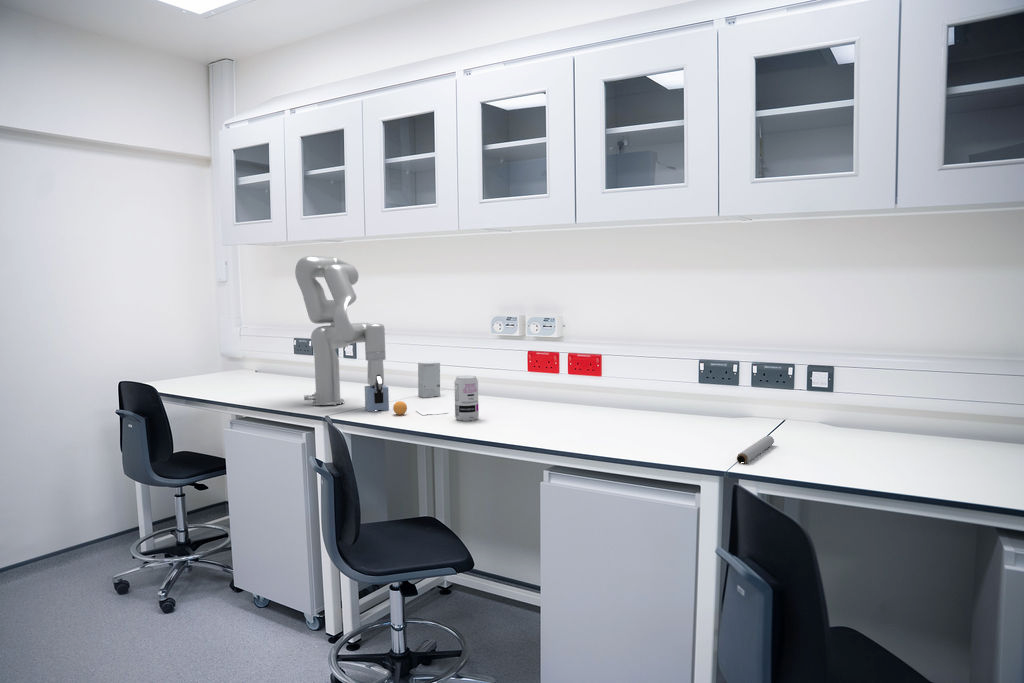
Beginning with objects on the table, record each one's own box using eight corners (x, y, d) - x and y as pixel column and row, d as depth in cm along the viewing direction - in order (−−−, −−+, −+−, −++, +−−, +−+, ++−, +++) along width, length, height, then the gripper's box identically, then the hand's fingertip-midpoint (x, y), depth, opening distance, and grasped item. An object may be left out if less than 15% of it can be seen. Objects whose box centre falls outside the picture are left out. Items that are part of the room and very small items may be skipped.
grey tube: (747, 466, 169) (774, 446, 189) (747, 454, 169) (774, 436, 189) (735, 464, 171) (763, 445, 191) (735, 452, 171) (763, 434, 191)
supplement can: (465, 416, 239) (464, 374, 238) (483, 418, 234) (482, 376, 233) (450, 419, 232) (449, 377, 231) (468, 422, 227) (468, 379, 226)
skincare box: (422, 398, 279) (421, 363, 278) (417, 396, 284) (416, 362, 283) (441, 396, 283) (440, 362, 281) (436, 394, 288) (435, 360, 287)
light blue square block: (368, 411, 249) (367, 388, 249) (365, 408, 256) (364, 386, 256) (388, 410, 252) (388, 387, 251) (385, 407, 259) (384, 384, 259)
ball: (394, 416, 239) (394, 402, 239) (392, 414, 244) (391, 400, 244) (408, 415, 241) (408, 401, 241) (405, 413, 246) (405, 399, 245)
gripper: (362, 354, 259) (363, 399, 261) (369, 358, 243) (371, 405, 245) (381, 353, 262) (382, 397, 263) (389, 357, 246) (391, 404, 247)
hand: (377, 401), depth 254 cm, fingers closed on light blue square block, 7 cm apart
